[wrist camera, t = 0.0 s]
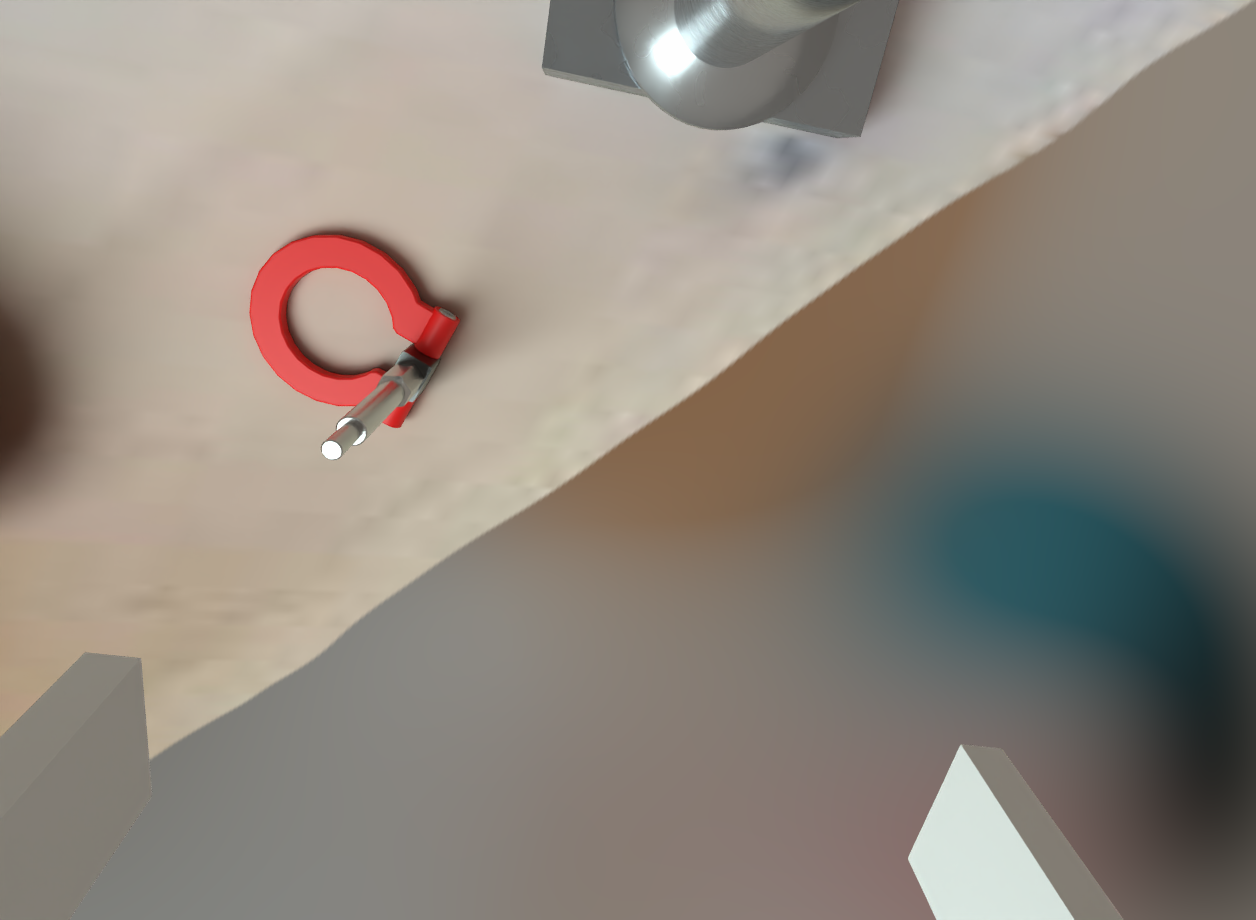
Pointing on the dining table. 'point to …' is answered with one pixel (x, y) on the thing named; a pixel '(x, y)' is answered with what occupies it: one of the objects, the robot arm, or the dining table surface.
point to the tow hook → (369, 391)
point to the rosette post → (729, 57)
